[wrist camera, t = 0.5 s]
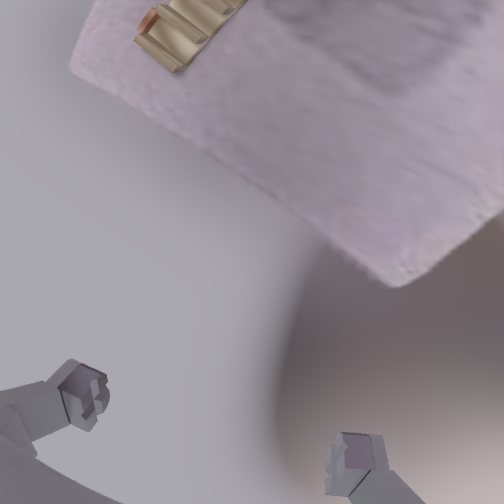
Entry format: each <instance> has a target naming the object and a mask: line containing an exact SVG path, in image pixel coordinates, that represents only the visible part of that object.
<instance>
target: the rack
mask: <svg viewBox="0 0 504 504" xmlns="http://www.w3.org/2000/svg"><path fill="white" fill-rule="evenodd" d="M246 1H247V0H172V1H171V2H170V4H169V5H158V7H157V8H151V9H150V11H149V12H148V13H147V15H146V16H145V18H144V19H143V20H142V22H141V23H140V25H139V26H138V28H137V30H138V31H139V32H141V33H142V34H138V35H137V36H136V38H135V39H134V41H135V42H136V43H137V44H138V45H139V46H141V47H142V48H143V49H144V50H146V51H147V52H148V53H149V54H150V55H152V56H153V57H154V58H155V59H156V60H158V61H159V62H160V63H161V64H162V65H163V66H165V67H166V68H167V69H168V70H169V71H170V72H172V73H174V72H178V71H181V70H185V69H186V67H187V66H188V65H189V64H190V63H191V61H192V60H193V59H194V58H195V56H196V55H197V54H198V53H199V52H200V51H201V49H202V48H203V47H204V46H205V45H206V44H207V42H208V41H209V40H210V39H211V38H212V37H213V36H214V34H215V33H216V32H217V31H218V30H219V29H220V28H221V27H222V26H223V25H224V24H225V22H226V21H227V20H228V19H229V18H230V17H231V16H232V15H233V14H234V13H235V12H236V11H237V10H238V9H239V8H240V7H241V6H242V5H243V4H244V3H245V2H246Z"/></svg>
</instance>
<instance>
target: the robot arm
mask: <svg viewBox="0 0 504 504" xmlns="http://www.w3.org/2000/svg"><path fill="white" fill-rule="evenodd" d="M107 382H108V379H107V375H106V374H105V373H103V372H100V371H98V370H96V369H94V368H92V367H89V366H87V365H85V364H83V363H80V362H78V361H76V360H74V359H69V360H67V361H66V362H65V363H64V364H63V365H62V366H61V367H60V368H59V369H58V370H57V371H56V372H55V373H54V374H53V375H52V376H51V377H50V378H49V379H48V380H47V381H46V382H44V381H39V382H35V383H31V384H28V385H24V386H20V387H16V388H12V389H8V390H3V391H0V504H122V503H120V502H118V501H115V500H113V499H111V498H108V497H106V496H104V495H102V494H100V493H98V492H96V491H94V490H91V489H89V488H87V487H85V486H83V485H81V484H80V483H78V482H76V481H74V480H72V479H70V478H68V477H66V476H65V475H63V474H61V473H59V472H58V471H56V470H54V469H52V468H51V467H49V466H47V465H46V464H44V463H43V462H41V461H39V460H38V459H36V458H35V457H36V456H37V451H36V450H35V448H34V446H33V444H32V442H33V441H35V440H37V439H40V438H42V437H44V436H46V435H48V434H51V433H53V432H55V431H57V430H59V429H62V428H64V427H66V426H68V425H69V423H70V424H72V425H74V426H76V427H78V428H80V429H83V430H85V431H87V432H90V431H91V429H92V428H93V426H94V425H95V424H96V422H97V415H99V414H101V413H103V412H104V411H105V409H106V407H107V406H108V403H109V398H110V393H109V389H108V388H107V387H106V383H107ZM325 470H326V471H327V473H328V474H329V475H328V477H327V478H326V480H325V495H331V496H344V497H349V500H350V501H351V503H352V504H426V503H424V501H423V500H422V499H421V498H420V497H419V496H418V495H417V494H415V492H414V491H413V490H412V489H411V488H410V487H409V486H408V485H407V484H406V483H405V482H404V481H403V480H402V479H401V478H400V477H399V476H398V475H397V474H396V473H395V472H394V471H390V470H389V465H388V459H387V454H386V449H385V444H384V439H383V437H382V435H374V434H361V433H349V432H340V433H338V435H337V437H336V444H334V445H332V446H331V447H330V449H329V451H328V454H327V457H326V462H325Z"/></svg>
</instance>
